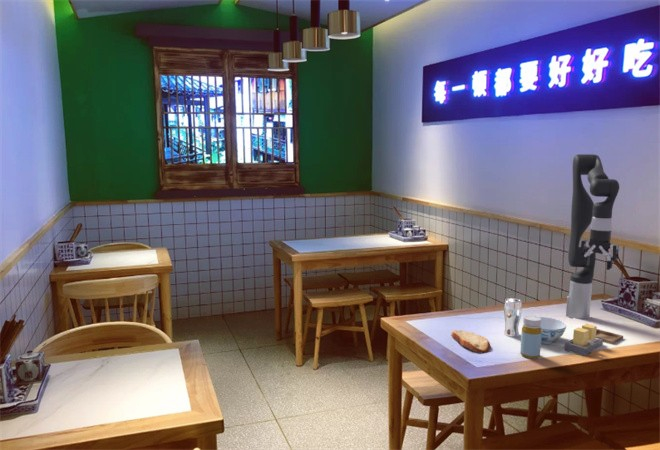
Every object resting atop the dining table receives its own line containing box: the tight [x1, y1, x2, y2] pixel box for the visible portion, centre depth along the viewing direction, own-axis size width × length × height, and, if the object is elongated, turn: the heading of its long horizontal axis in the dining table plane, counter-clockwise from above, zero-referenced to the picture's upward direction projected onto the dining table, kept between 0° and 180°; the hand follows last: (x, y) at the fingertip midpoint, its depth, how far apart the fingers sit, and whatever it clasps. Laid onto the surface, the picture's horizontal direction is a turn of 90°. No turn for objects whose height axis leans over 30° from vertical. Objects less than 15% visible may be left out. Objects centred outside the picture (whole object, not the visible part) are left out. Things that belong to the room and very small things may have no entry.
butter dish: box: [564, 323, 604, 357], centre depth 212 cm, size 8×15×8 cm, turn 130°
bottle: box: [519, 314, 542, 360], centre depth 204 cm, size 7×7×15 cm
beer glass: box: [503, 297, 523, 338], centre depth 227 cm, size 7×7×15 cm
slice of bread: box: [450, 329, 491, 354], centre depth 218 cm, size 18×18×4 cm
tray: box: [596, 328, 624, 345], centre depth 222 cm, size 11×10×2 cm
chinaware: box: [539, 316, 567, 345], centre depth 220 cm, size 15×15×8 cm
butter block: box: [572, 327, 589, 347], centre depth 210 cm, size 4×4×8 cm
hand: (597, 267), depth 219 cm, fingers open, 8 cm apart
